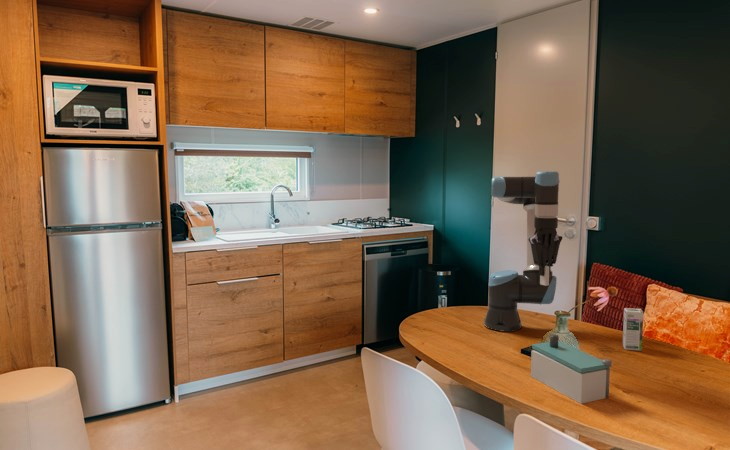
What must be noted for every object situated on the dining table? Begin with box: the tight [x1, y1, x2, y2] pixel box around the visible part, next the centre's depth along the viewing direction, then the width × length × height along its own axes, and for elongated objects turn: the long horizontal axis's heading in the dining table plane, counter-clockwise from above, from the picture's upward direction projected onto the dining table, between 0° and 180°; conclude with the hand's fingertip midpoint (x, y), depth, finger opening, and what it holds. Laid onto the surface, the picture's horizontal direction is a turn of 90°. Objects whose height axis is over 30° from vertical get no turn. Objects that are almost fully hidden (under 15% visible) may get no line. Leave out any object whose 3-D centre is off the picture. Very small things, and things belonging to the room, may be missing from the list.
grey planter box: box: [530, 349, 611, 405], centre depth 158 cm, size 11×22×9 cm, turn 22°
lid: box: [531, 333, 613, 373], centre depth 158 cm, size 11×22×5 cm, turn 20°
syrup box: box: [622, 307, 644, 352], centre depth 191 cm, size 6×6×14 cm
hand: (544, 284), depth 179 cm, fingers closed
